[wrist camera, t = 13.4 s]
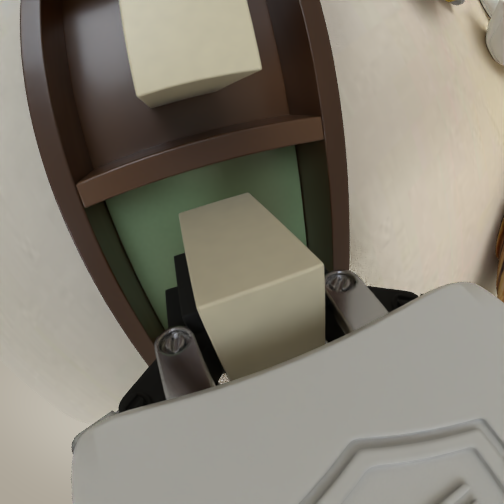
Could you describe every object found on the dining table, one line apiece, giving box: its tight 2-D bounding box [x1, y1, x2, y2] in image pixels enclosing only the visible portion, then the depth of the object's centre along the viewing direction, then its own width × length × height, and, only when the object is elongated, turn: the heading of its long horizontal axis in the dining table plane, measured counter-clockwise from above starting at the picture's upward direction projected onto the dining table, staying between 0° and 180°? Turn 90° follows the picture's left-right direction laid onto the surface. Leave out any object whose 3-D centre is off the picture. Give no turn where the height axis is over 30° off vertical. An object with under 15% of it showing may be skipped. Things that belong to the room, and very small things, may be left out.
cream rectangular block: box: [179, 193, 325, 381], centre depth 10 cm, size 3×6×6 cm, turn 11°
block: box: [119, 0, 262, 108], centre depth 6 cm, size 3×6×6 cm, turn 12°
